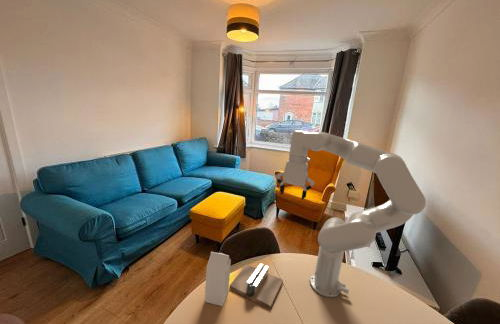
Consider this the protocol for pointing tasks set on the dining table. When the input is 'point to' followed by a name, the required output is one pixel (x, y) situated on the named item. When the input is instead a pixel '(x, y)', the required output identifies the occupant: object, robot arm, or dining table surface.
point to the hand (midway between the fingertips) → (292, 196)
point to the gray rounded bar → (256, 280)
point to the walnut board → (265, 291)
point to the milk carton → (217, 278)
